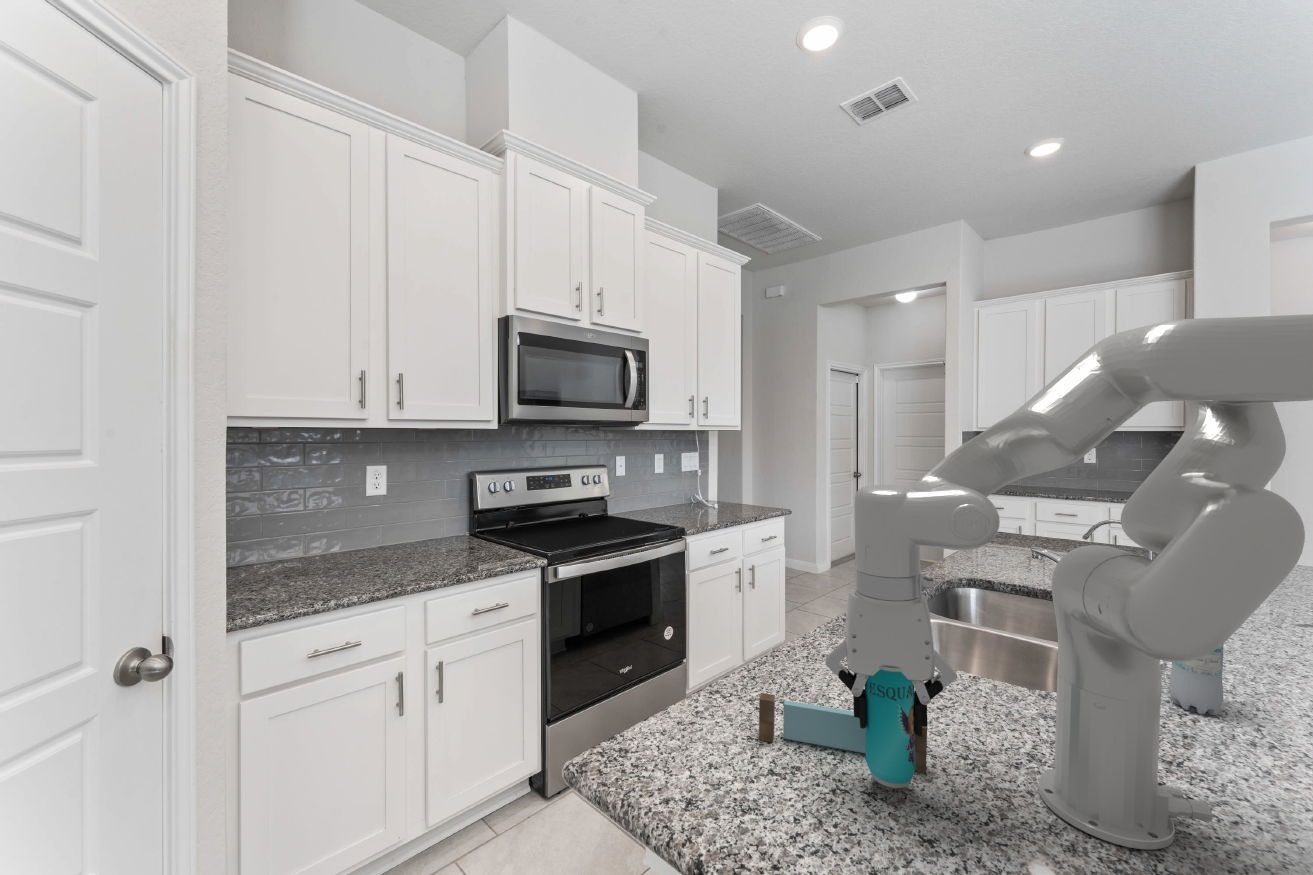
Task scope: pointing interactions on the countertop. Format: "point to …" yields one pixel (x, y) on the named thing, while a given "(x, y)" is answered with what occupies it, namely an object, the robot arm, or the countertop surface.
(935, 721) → the countertop surface
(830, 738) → the gate door
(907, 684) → the beverage can
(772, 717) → the twin wooden posts
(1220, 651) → the bottle
